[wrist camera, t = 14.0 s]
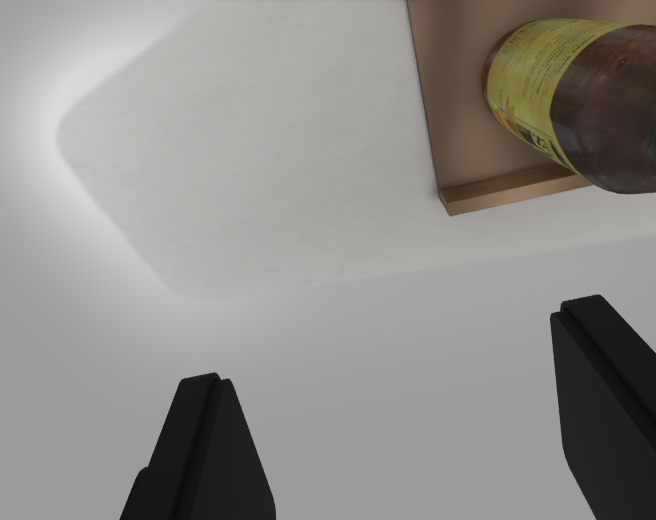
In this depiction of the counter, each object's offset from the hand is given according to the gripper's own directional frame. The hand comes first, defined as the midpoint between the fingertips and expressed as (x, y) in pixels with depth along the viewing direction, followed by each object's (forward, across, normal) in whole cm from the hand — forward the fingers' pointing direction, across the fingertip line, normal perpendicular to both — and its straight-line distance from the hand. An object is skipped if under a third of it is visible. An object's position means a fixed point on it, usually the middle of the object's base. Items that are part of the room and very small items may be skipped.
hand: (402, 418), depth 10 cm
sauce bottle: (+27, -11, 0) cm, 29 cm away
